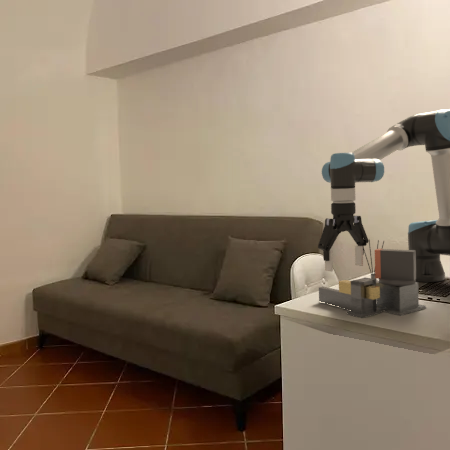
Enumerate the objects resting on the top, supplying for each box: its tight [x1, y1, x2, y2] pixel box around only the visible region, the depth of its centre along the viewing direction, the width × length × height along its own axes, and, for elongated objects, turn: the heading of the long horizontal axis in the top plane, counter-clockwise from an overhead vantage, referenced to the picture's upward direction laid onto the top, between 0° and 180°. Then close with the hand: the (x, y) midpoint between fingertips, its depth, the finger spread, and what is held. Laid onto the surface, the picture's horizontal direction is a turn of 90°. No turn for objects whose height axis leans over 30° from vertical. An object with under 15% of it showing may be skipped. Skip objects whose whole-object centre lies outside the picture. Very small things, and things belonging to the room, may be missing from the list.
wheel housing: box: [376, 281, 427, 316], centre depth 159 cm, size 12×12×8 cm
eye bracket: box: [318, 277, 383, 319], centre depth 162 cm, size 9×22×10 cm, turn 33°
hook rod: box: [338, 279, 380, 300], centre depth 157 cm, size 3×14×4 cm, turn 33°
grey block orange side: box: [374, 248, 417, 286], centre depth 158 cm, size 12×11×10 cm
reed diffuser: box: [364, 238, 385, 283], centre depth 177 cm, size 10×7×20 cm
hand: (344, 268), depth 160 cm, fingers open, 13 cm apart
